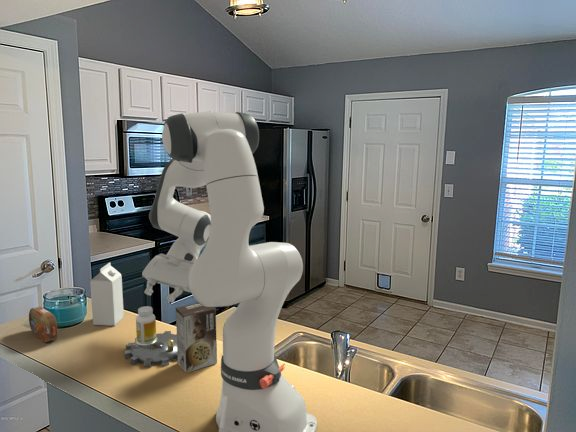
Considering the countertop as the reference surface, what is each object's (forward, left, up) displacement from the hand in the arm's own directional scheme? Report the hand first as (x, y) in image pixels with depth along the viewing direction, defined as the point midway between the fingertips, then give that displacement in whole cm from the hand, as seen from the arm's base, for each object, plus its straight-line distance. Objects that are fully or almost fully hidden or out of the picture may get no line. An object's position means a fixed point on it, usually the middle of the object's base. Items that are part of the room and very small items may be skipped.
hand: (157, 297), depth 128 cm
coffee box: (-19, +4, -13) cm, 24 cm away
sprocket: (-5, +5, -13) cm, 15 cm away
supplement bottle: (0, +5, -12) cm, 13 cm away
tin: (+30, +18, -13) cm, 37 cm away
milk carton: (+23, +1, -13) cm, 27 cm away
